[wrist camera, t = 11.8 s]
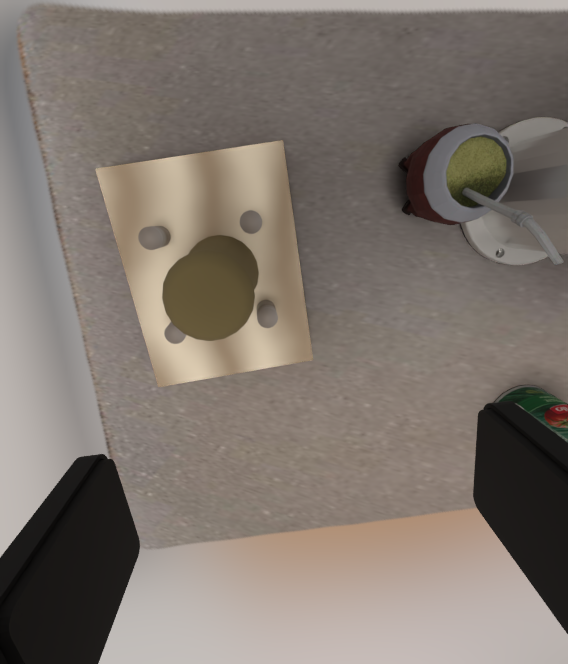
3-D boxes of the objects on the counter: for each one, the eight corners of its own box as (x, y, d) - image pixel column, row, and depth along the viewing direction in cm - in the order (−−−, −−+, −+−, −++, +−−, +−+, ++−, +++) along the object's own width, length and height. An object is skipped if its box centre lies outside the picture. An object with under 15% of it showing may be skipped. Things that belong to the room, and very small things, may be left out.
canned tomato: (557, 381, 40) (664, 438, 30) (546, 441, 43) (641, 513, 32) (489, 388, 40) (574, 448, 29) (482, 448, 42) (558, 524, 32)
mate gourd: (422, 122, 31) (567, 41, 17) (485, 178, 33) (663, 148, 19) (369, 197, 33) (461, 182, 18) (432, 247, 35) (560, 268, 20)
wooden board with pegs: (278, 149, 31) (286, 130, 24) (306, 345, 36) (319, 373, 30) (114, 175, 30) (76, 162, 24) (168, 369, 36) (149, 403, 29)
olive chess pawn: (232, 322, 31) (222, 375, 20) (169, 281, 29) (125, 316, 19) (273, 264, 30) (285, 289, 19) (210, 218, 28) (186, 218, 18)
